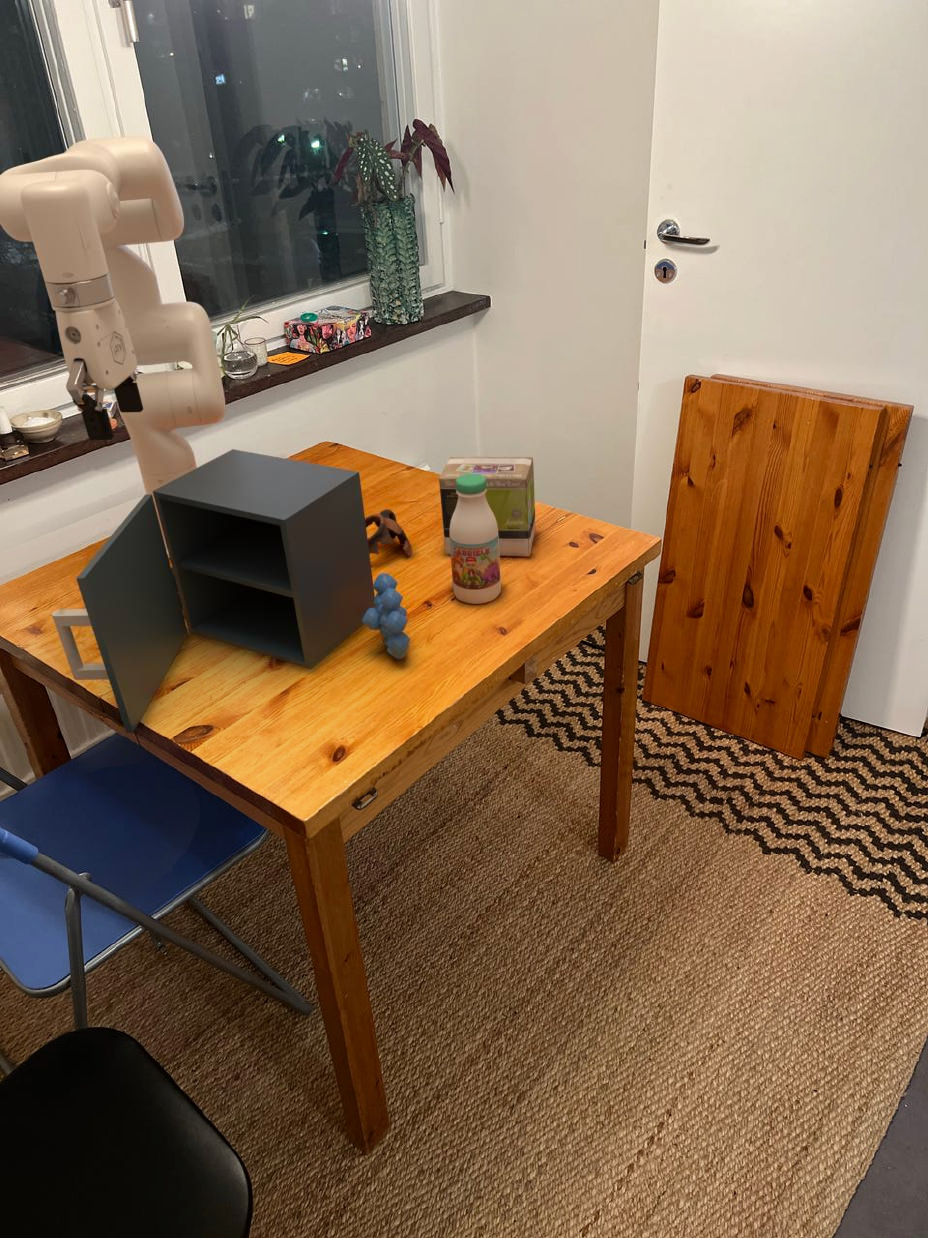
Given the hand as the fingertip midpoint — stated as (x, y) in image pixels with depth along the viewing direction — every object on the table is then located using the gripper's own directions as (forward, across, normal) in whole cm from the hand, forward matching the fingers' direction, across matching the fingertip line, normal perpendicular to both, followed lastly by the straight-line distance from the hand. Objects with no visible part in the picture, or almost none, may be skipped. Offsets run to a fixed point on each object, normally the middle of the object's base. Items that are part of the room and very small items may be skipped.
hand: (117, 424), depth 121 cm
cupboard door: (+35, -10, +2) cm, 36 cm away
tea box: (+36, +32, -46) cm, 66 cm away
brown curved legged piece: (+36, +29, -28) cm, 54 cm away
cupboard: (+35, +5, -15) cm, 39 cm away
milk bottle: (+35, +14, -45) cm, 59 cm away
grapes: (+35, -2, -34) cm, 48 cm away
